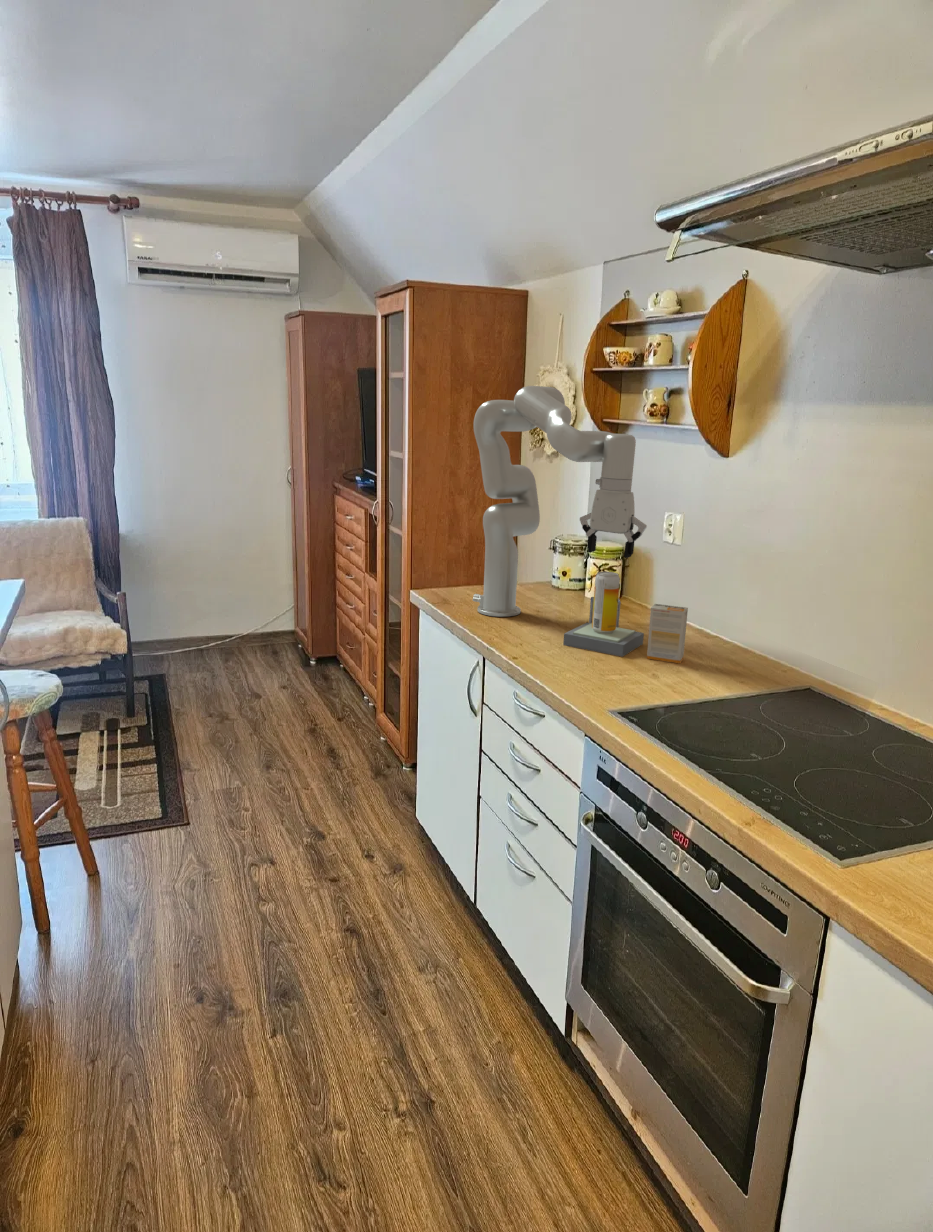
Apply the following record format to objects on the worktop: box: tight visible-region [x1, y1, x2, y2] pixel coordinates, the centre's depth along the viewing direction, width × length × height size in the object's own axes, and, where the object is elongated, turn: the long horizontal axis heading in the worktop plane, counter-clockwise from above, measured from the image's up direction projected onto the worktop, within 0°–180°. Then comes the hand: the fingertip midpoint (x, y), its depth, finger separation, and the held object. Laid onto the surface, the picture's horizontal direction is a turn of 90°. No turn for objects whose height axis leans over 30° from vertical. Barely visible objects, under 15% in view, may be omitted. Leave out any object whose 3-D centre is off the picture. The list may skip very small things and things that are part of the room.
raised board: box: [562, 622, 645, 658], centre depth 209 cm, size 16×14×4 cm
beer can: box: [592, 571, 621, 634], centre depth 207 cm, size 6×6×15 cm
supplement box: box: [646, 603, 689, 664], centre depth 197 cm, size 8×5×13 cm, turn 65°
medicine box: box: [588, 596, 622, 628], centre depth 223 cm, size 8×4×9 cm, turn 84°
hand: (609, 554), depth 204 cm, fingers open, 9 cm apart
